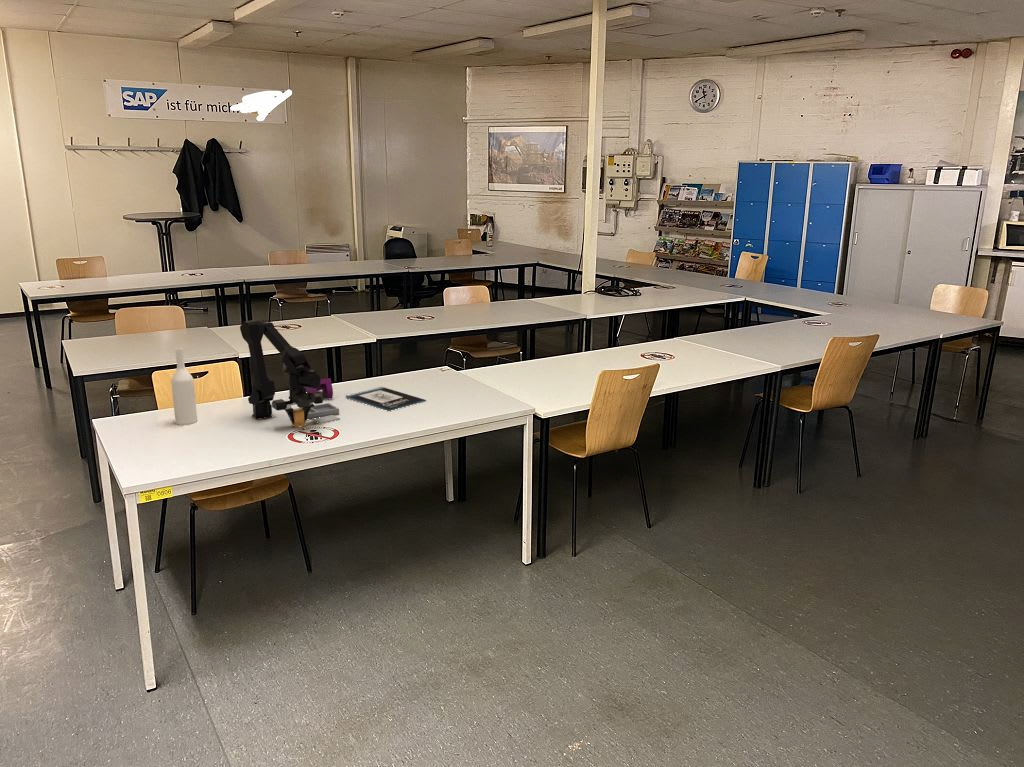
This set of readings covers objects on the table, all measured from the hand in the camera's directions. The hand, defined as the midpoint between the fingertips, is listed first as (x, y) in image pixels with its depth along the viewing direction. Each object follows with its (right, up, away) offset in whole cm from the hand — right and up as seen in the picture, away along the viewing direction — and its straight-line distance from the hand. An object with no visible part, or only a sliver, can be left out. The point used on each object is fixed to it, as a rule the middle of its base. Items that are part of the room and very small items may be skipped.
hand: (298, 422), depth 302 cm
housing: (+3, +2, +13) cm, 14 cm away
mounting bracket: (-3, +9, +40) cm, 41 cm away
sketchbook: (+28, +8, +37) cm, 47 cm away
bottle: (-45, 0, +2) cm, 45 cm away
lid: (+9, 0, +7) cm, 12 cm away
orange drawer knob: (0, -1, 0) cm, 1 cm away
